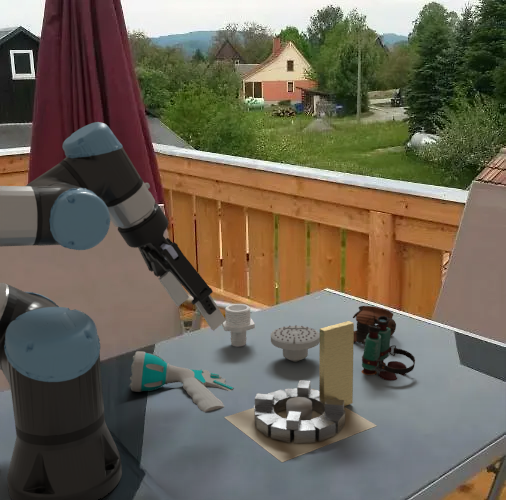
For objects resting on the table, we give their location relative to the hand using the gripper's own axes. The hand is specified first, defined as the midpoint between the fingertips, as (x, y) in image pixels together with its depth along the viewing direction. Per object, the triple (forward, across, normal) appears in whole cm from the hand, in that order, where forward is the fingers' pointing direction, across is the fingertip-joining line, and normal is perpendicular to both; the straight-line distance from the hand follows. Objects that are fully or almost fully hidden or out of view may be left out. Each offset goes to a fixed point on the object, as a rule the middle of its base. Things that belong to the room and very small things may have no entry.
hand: (200, 312), depth 114 cm
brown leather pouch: (+34, +2, -29) cm, 45 cm away
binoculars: (+29, -14, -20) cm, 37 cm away
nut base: (+16, -20, +1) cm, 26 cm away
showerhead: (+23, 0, -10) cm, 25 cm away
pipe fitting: (+22, +16, -7) cm, 28 cm away
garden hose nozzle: (+12, +1, +10) cm, 16 cm away
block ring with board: (+15, -20, -1) cm, 25 cm away
